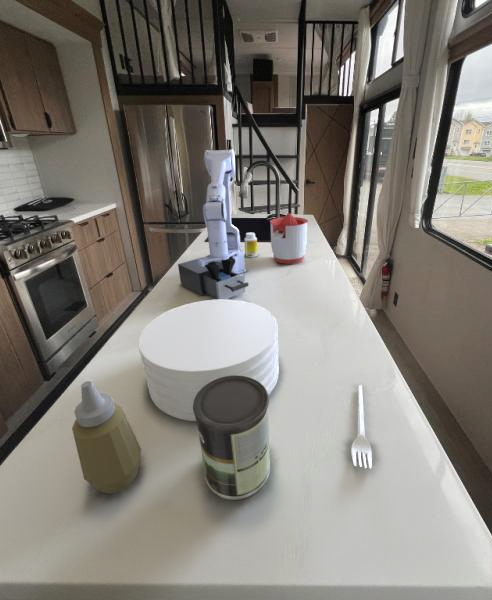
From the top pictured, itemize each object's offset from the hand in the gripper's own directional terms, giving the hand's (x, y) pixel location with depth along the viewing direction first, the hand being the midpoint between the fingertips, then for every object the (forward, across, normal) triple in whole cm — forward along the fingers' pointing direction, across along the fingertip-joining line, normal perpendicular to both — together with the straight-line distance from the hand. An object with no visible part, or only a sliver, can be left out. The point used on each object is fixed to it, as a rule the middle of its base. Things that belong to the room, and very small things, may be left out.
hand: (221, 281), depth 107 cm
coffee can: (+5, -37, -55) cm, 66 cm away
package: (+1, 0, 0) cm, 1 cm away
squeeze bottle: (+5, -51, -43) cm, 67 cm away
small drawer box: (+5, 0, +11) cm, 12 cm away
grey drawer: (+4, 0, -2) cm, 4 cm away
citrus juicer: (+5, +40, +8) cm, 41 cm away
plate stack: (+5, -26, -33) cm, 42 cm away
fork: (+5, -16, -64) cm, 66 cm away
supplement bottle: (+5, +34, +25) cm, 42 cm away
